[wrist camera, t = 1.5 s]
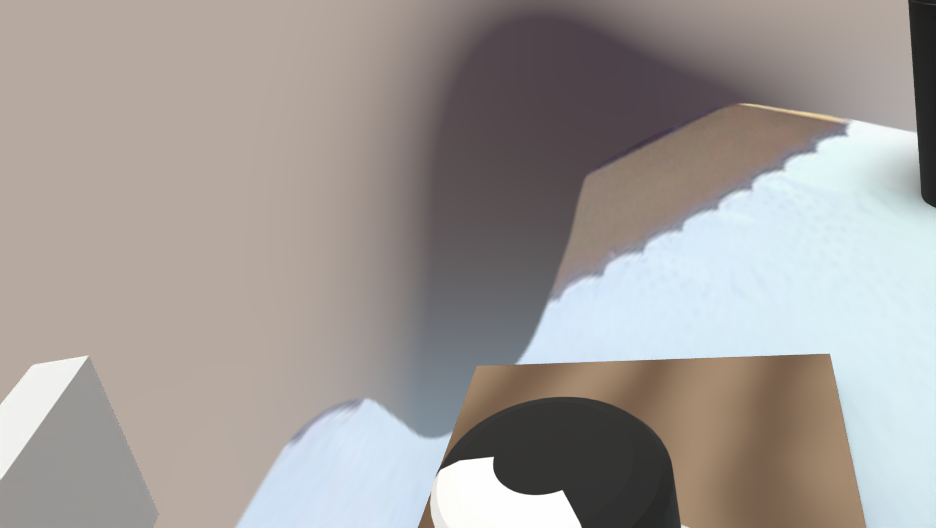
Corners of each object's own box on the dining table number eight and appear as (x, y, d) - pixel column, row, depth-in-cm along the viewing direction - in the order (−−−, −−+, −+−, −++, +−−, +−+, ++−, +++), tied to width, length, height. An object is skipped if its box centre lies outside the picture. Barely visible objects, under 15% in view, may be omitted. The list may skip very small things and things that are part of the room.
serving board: (830, 378, 41) (830, 353, 40) (875, 604, 30) (876, 576, 29) (482, 387, 46) (476, 366, 46) (416, 580, 36) (407, 556, 35)
